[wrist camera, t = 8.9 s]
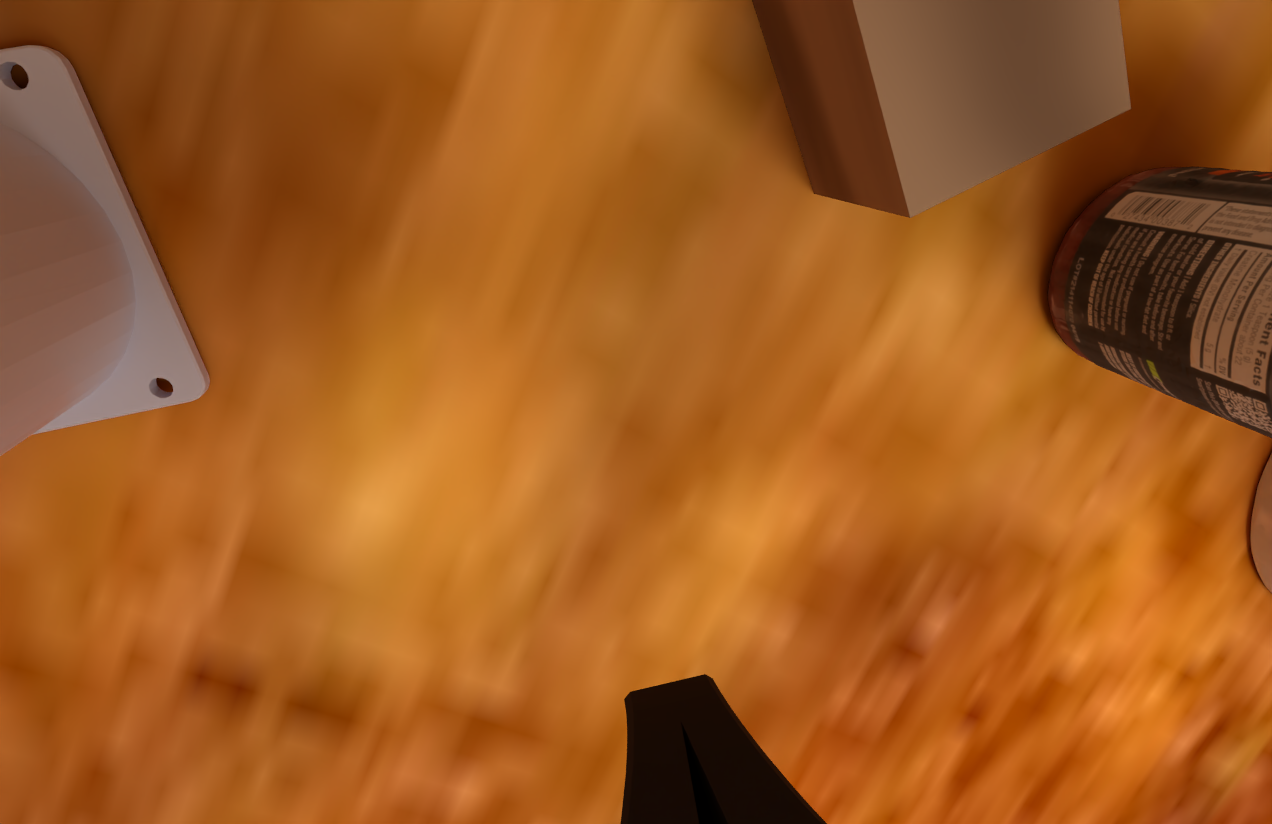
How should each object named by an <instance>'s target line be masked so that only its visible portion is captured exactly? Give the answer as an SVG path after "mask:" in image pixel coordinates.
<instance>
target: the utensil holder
mask: <svg viewBox="0 0 1272 824" xmlns="http://www.w3.org/2000/svg"><path fill="white" fill-rule="evenodd" d="M1250 541H1251V550H1252V555H1253V559H1254V563H1255V565H1256V568H1257V571H1258V573H1259V575H1260V577H1261V579H1262V581H1263V583H1264V585H1265V586H1266V587H1267V589H1268V590H1269V591H1270V592H1271V593H1272V453H1271V455H1270V458H1269V460H1268V462H1267V464H1266V467H1265V469H1264V471H1263V474H1262V476H1261V479H1260V482H1259V484H1258V487H1257V492H1256V497H1255V502H1254V507H1253V513H1252V519H1251V534H1250Z"/></svg>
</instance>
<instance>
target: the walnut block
mask: <svg viewBox="0 0 1272 824" xmlns="http://www.w3.org/2000/svg"><path fill="white" fill-rule="evenodd" d="M752 2H753V5H754V8H755V11H756V14H757V17H758V20H759V23H760V27H761V30H762V33H763V36H764V39H765V42H766V45H767V48H768V51H769V55H770V58H771V61H772V64H773V67H774V70H775V73H776V76H777V79H778V83H779V86H780V89H781V92H782V95H783V98H784V101H785V104H786V108H787V111H788V114H789V117H790V120H791V123H792V126H793V129H794V132H795V136H796V139H797V142H798V145H799V148H800V151H801V154H802V157H803V160H804V164H805V167H806V170H807V173H808V176H809V179H810V182H811V185H812V189H813V192H814V194H818V195H822V196H825V197H829V198H833V199H837V200H841V201H845V202H849V203H853V204H857V205H861V206H865V207H869V208H873V209H877V210H881V211H885V212H889V213H893V214H897V215H901V216H905V217H909V218H911V217H913V216H915V215H917V214H919V213H921V212H923V211H925V210H927V209H929V208H931V207H933V206H935V205H937V204H939V203H941V202H943V201H945V200H947V199H949V198H951V197H953V196H955V195H957V194H959V193H961V192H963V191H966V190H968V189H970V188H972V187H974V186H976V185H978V184H980V183H982V182H984V181H986V180H988V179H990V178H992V177H994V176H996V175H998V174H1000V173H1002V172H1004V171H1006V170H1008V169H1010V168H1012V167H1014V166H1016V165H1018V164H1020V163H1022V162H1024V161H1026V160H1028V159H1030V158H1032V157H1034V156H1036V155H1038V154H1040V153H1042V152H1044V151H1047V150H1049V149H1051V148H1053V147H1055V146H1057V145H1059V144H1061V143H1063V142H1065V141H1067V140H1069V139H1071V138H1073V137H1075V136H1077V135H1079V134H1081V133H1083V132H1085V131H1087V130H1089V129H1091V128H1093V127H1095V126H1097V125H1099V124H1101V123H1103V122H1105V121H1107V120H1109V119H1111V118H1113V117H1115V116H1117V115H1119V114H1121V113H1123V112H1125V111H1127V110H1130V109H1131V103H1130V95H1129V86H1128V78H1127V69H1126V61H1125V52H1124V44H1123V35H1122V27H1121V18H1120V10H1119V1H1118V0H752Z"/></svg>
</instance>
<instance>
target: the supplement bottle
mask: <svg viewBox="0 0 1272 824" xmlns="http://www.w3.org/2000/svg"><path fill="white" fill-rule="evenodd" d="M1048 300H1049V308H1050V313H1051V316H1052V320H1053V324H1054V326H1055V328H1056V330H1057V332H1058V334H1059V335H1060V337H1061V338H1062V340H1063V341H1064V343H1065V344H1066V345H1068V346H1069V347H1070V348H1071V349H1072V350H1073V351H1074V352H1076V353H1077V354H1078V355H1080V356H1082V357H1084V358H1085V359H1087V360H1089V361H1091V362H1094V363H1095V364H1096V365H1098V366H1100V367H1103V368H1105V369H1107V370H1110V371H1113V372H1115V373H1117V374H1120V375H1122V376H1124V377H1127V378H1129V379H1131V380H1134V381H1137V382H1139V383H1141V384H1144V385H1146V386H1148V387H1151V388H1154V389H1156V390H1158V391H1160V392H1162V393H1164V394H1166V395H1169V396H1171V397H1174V398H1176V399H1179V400H1182V401H1184V402H1186V403H1189V404H1191V405H1194V406H1196V407H1198V408H1200V409H1203V410H1205V411H1208V412H1210V413H1212V414H1215V415H1217V416H1220V417H1223V418H1225V419H1227V420H1229V421H1232V422H1235V423H1237V424H1239V425H1241V426H1244V427H1246V428H1249V429H1251V430H1254V431H1256V432H1259V433H1261V434H1263V435H1266V436H1268V437H1270V438H1272V172H1259V171H1241V170H1229V169H1223V168H1206V167H1164V168H1157V169H1151V170H1147V171H1143V172H1141V173H1138V174H1135V175H1129V176H1127V177H1126V178H1124V179H1123V180H1121V181H1119V182H1118V183H1116V184H1115V185H1113V186H1111V187H1110V188H1109V189H1107V190H1106V191H1104V192H1103V193H1102V194H1101V195H1100V196H1099V197H1097V198H1096V199H1095V200H1094V201H1093V202H1092V203H1091V204H1090V205H1089V206H1088V207H1086V208H1085V209H1084V210H1083V212H1082V213H1081V215H1080V216H1079V217H1078V218H1077V219H1075V221H1074V223H1073V225H1072V226H1071V227H1070V229H1069V230H1068V232H1067V233H1066V234H1065V237H1064V239H1063V241H1062V243H1061V245H1060V248H1059V250H1058V251H1057V254H1056V257H1055V260H1054V262H1053V268H1052V272H1051V276H1050V280H1049V290H1048Z"/></svg>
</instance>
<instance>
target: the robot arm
mask: <svg viewBox="0 0 1272 824" xmlns="http://www.w3.org/2000/svg"><path fill="white" fill-rule="evenodd" d="M16 64H18V65H20V66H22V67H23V69H24V70H25V71H26V72H27V74H28V79H29V82H28V85H27V87H26V88H24V89H21V88H20V87H18V86H17V85H16V84H15V83H14V81H13V80H12V77H11V69H12V67H13V66H14V65H16ZM157 378H164V379H166V380H168V381H169V382H170V383H171V384H172V386H173V392H165V391H163V390H161V389H160V388H159V387H158V386H157V382H156V379H157ZM209 384H210V380H209V375H208V372H207V370H206V368H205V366H204V363H203V361H202V359H201V357H200V354H199V352H198V350H197V347H196V345H195V343H194V341H193V338H192V336H191V334H190V332H189V329H188V327H187V325H186V322H185V320H184V318H183V316H182V313H181V311H180V309H179V306H178V304H177V302H176V300H175V297H174V295H173V293H172V291H171V288H170V286H169V284H168V281H167V279H166V277H165V275H164V272H163V270H162V268H161V266H160V263H159V261H158V259H157V256H156V254H155V252H154V250H153V247H152V245H151V243H150V240H149V238H148V236H147V234H146V231H145V229H144V227H143V225H142V222H141V220H140V218H139V215H138V213H137V211H136V209H135V206H134V204H133V202H132V200H131V197H130V195H129V193H128V190H127V188H126V186H125V184H124V181H123V179H122V177H121V175H120V172H119V170H118V168H117V165H116V163H115V161H114V159H113V156H112V154H111V152H110V149H109V147H108V145H107V143H106V140H105V138H104V136H103V134H102V131H101V129H100V127H99V124H98V122H97V120H96V118H95V115H94V113H93V111H92V109H91V106H90V104H89V102H88V99H87V97H86V95H85V93H84V90H83V88H82V86H81V84H80V81H79V79H78V77H77V74H76V72H75V70H74V68H73V66H72V65H71V63H70V62H69V60H68V59H67V58H66V57H65V56H63V55H62V54H61V53H60V52H59V51H56V50H54V49H52V48H49V47H45V46H35V45H26V46H20V47H14V48H8V49H1V50H0V456H1V455H3V454H4V453H6V452H7V451H9V450H10V449H11V448H13V447H14V446H16V445H17V444H19V443H20V442H22V441H23V440H25V439H26V438H28V437H29V436H30V435H32V434H37V433H42V432H47V431H52V430H56V429H61V428H66V427H71V426H76V425H80V424H85V423H90V422H95V421H100V420H104V419H109V418H114V417H119V416H124V415H129V414H133V413H138V412H143V411H148V410H153V409H157V408H162V407H167V406H172V405H177V404H181V403H186V402H191V401H194V400H196V399H198V398H200V397H201V396H202V395H203V394H204V393H205V392H206V391H207V389H208V388H209ZM624 700H625V707H626V714H627V764H626V778H625V788H624V798H623V807H622V817H621V824H827V823H826V822H825V821H824V820H823V819H822V818H821V817H820V816H819V815H818V814H817V813H816V812H815V811H814V810H813V809H812V807H811V806H810V805H809V804H808V803H807V802H806V801H805V800H804V799H803V797H802V796H801V795H800V794H799V793H798V792H797V791H796V790H795V788H794V787H793V786H792V785H791V784H790V783H789V781H788V780H787V779H786V778H785V777H784V775H783V774H782V773H781V772H780V771H779V770H778V768H777V767H776V766H775V765H774V764H773V762H772V761H771V760H770V759H769V758H768V756H767V755H766V754H765V753H764V752H763V750H762V749H761V748H760V746H759V745H758V744H757V743H756V741H755V740H754V739H753V737H752V736H751V735H750V733H749V732H748V731H747V729H746V728H745V727H744V725H743V724H742V723H741V721H740V720H739V719H738V717H737V716H736V714H735V713H734V712H733V710H732V709H731V707H730V706H729V704H728V703H727V701H726V700H725V698H724V697H723V695H722V694H721V692H720V690H719V689H718V687H717V685H716V684H715V682H714V680H713V678H711V677H709V676H707V675H706V674H704V675H700V676H696V677H692V678H687V679H683V680H679V681H675V682H670V683H666V684H662V685H658V686H653V687H649V688H645V689H640V690H636V691H632V692H630V693H629V694H628V695H627V696H626V698H625V699H624Z"/></svg>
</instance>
